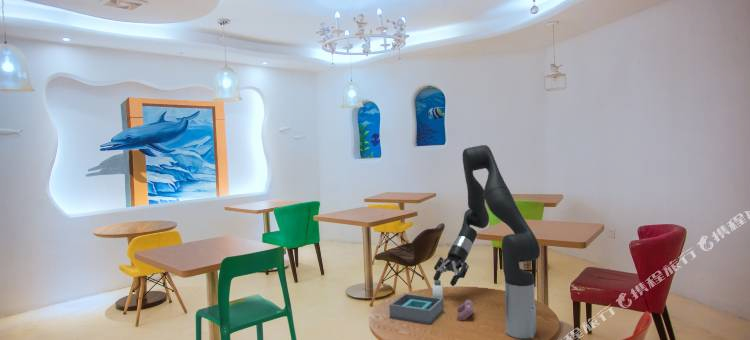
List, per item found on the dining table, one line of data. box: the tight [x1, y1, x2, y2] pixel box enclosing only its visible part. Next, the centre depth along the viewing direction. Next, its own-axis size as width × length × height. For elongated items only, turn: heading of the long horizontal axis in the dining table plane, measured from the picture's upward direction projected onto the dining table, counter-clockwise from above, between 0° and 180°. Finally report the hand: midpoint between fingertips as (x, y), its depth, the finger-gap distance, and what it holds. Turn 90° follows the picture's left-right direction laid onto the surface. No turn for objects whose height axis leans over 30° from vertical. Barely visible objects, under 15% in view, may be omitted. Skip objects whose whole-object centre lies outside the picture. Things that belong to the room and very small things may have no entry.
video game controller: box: [456, 299, 474, 321], centre depth 164 cm, size 10×5×7 cm, turn 169°
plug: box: [432, 279, 444, 300], centre depth 175 cm, size 4×4×10 cm
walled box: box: [388, 293, 445, 326], centre depth 167 cm, size 16×14×5 cm
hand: (443, 282), depth 178 cm, fingers open, 8 cm apart
